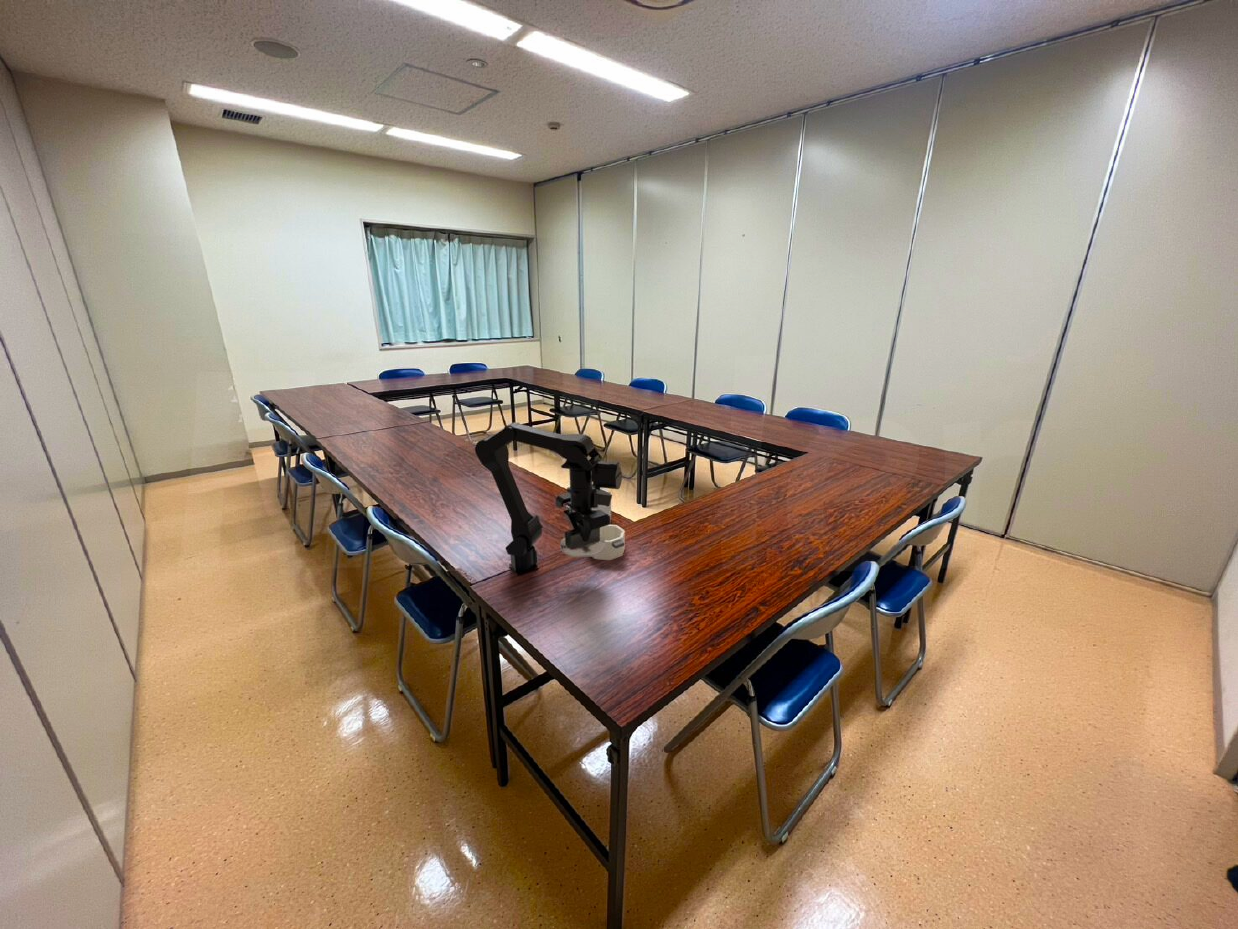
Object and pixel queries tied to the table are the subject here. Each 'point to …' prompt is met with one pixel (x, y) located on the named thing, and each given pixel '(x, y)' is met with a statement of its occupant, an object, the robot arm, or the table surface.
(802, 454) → the table surface
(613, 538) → the cooker pot
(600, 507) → the photo printer
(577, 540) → the cooker lid
